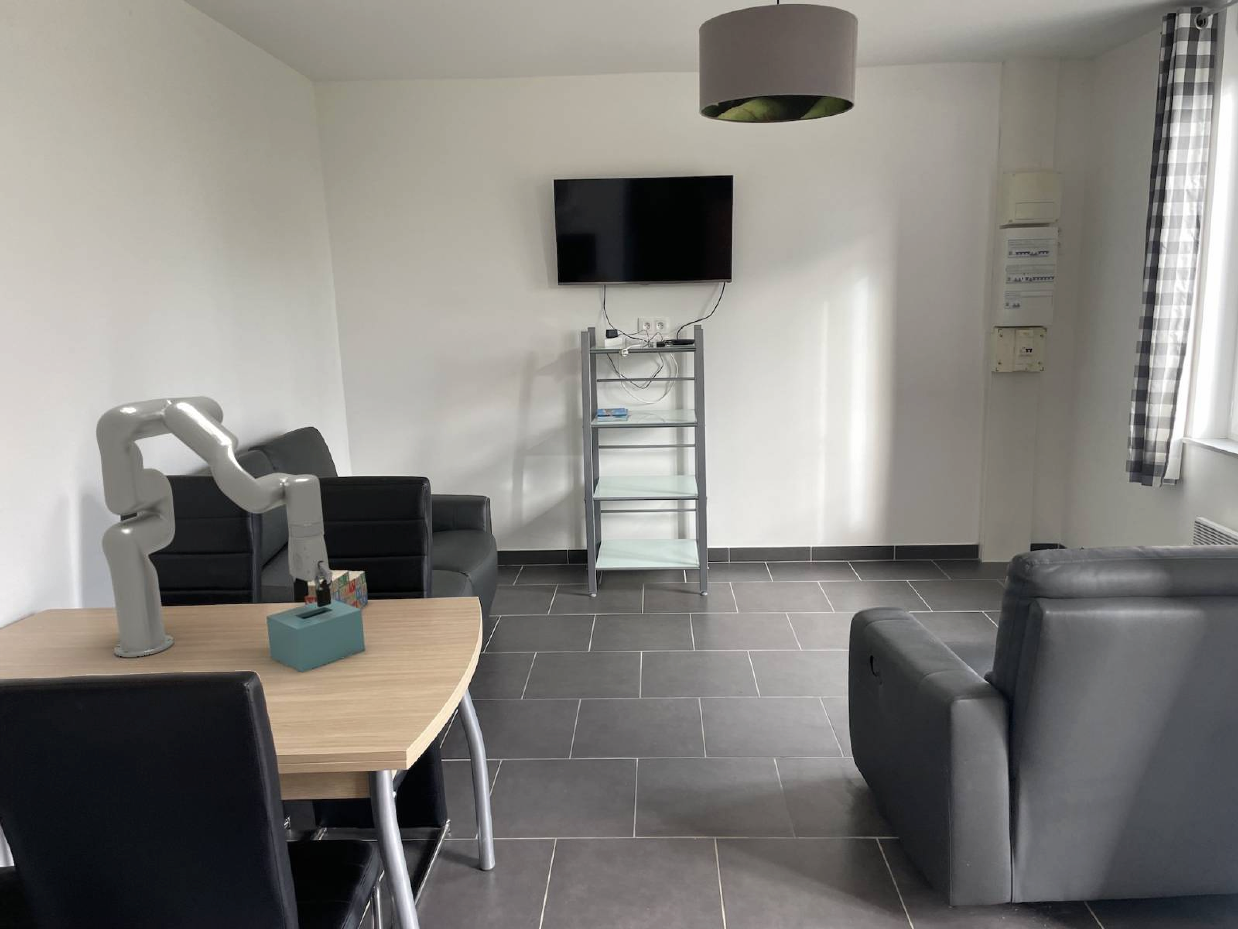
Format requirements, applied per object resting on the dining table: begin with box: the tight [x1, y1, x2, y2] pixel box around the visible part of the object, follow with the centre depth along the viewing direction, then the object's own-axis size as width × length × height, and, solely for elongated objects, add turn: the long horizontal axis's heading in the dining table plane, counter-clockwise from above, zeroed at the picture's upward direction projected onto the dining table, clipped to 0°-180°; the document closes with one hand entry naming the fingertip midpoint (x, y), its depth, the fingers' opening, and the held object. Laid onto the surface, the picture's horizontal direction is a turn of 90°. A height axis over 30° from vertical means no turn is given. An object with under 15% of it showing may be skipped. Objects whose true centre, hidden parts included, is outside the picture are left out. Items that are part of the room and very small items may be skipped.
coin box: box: [266, 599, 366, 673], centre depth 206 cm, size 14×16×10 cm
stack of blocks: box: [304, 569, 369, 610], centre depth 231 cm, size 21×6×12 cm, turn 170°
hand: (313, 601), depth 205 cm, fingers open, 9 cm apart
